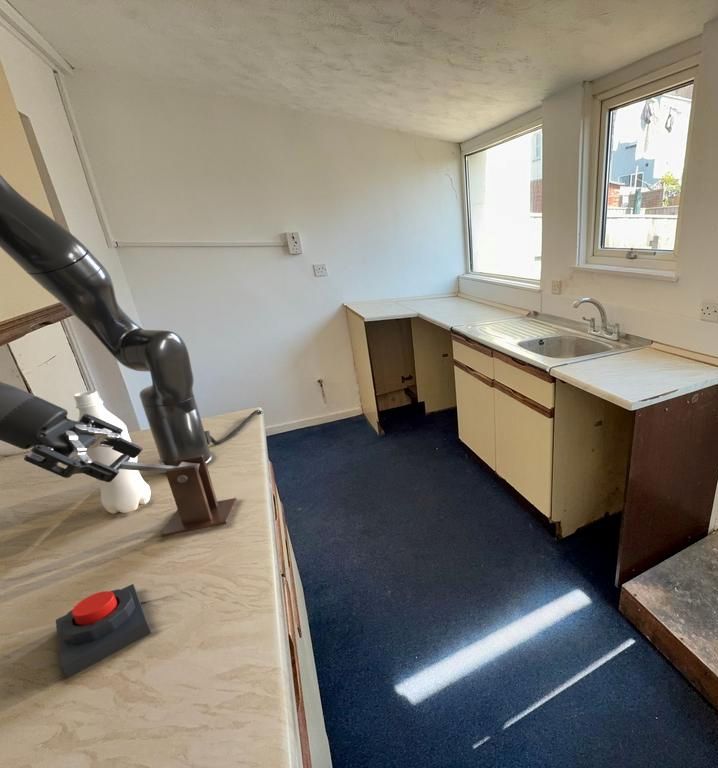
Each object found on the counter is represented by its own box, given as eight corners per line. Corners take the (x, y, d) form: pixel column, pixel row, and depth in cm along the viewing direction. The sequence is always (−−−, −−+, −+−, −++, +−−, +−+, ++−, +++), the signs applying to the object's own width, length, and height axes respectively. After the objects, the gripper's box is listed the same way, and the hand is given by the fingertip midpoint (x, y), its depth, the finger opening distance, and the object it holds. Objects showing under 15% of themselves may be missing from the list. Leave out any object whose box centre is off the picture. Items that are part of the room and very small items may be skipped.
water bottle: (125, 520, 77) (76, 401, 69) (97, 515, 78) (45, 399, 70) (163, 498, 84) (122, 387, 75) (136, 494, 85) (93, 385, 77)
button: (74, 614, 53) (70, 604, 53) (115, 595, 56) (111, 586, 56) (77, 631, 51) (72, 621, 50) (119, 611, 54) (115, 601, 53)
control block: (61, 631, 55) (50, 609, 54) (137, 594, 61) (129, 574, 59) (67, 679, 49) (55, 656, 48) (151, 633, 55) (142, 611, 53)
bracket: (162, 539, 72) (141, 479, 68) (179, 513, 79) (161, 457, 75) (227, 526, 76) (210, 468, 71) (237, 502, 83) (223, 448, 78)
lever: (103, 477, 67) (105, 465, 67) (119, 463, 72) (120, 451, 71) (191, 484, 72) (193, 473, 72) (200, 470, 77) (202, 459, 76)
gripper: (-8, 413, 56) (121, 468, 64) (57, 383, 68) (159, 432, 76) (-44, 453, 56) (90, 503, 64) (28, 415, 68) (133, 461, 76)
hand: (127, 464), depth 70 cm, fingers open, 8 cm apart
